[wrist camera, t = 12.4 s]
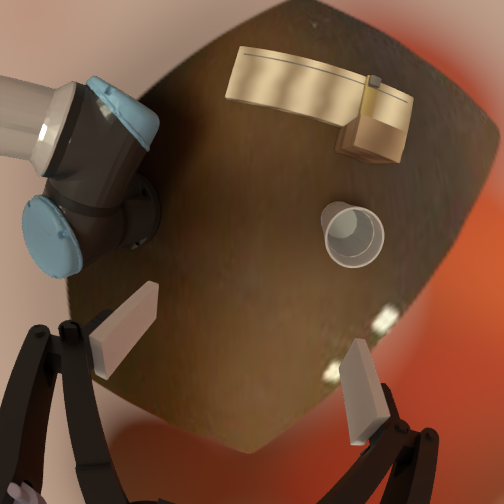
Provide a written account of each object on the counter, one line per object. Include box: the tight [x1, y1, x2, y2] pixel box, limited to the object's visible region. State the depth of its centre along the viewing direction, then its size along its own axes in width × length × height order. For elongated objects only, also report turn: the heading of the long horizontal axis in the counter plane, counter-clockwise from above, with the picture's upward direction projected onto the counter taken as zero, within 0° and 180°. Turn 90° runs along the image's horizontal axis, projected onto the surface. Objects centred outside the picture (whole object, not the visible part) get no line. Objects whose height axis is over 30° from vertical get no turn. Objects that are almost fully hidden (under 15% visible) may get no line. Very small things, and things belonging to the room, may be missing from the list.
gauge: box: [334, 75, 406, 163], centre depth 31 cm, size 6×14×14 cm, turn 166°
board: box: [225, 46, 414, 150], centre depth 37 cm, size 30×10×2 cm, turn 76°
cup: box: [321, 201, 384, 268], centre depth 38 cm, size 8×8×12 cm
